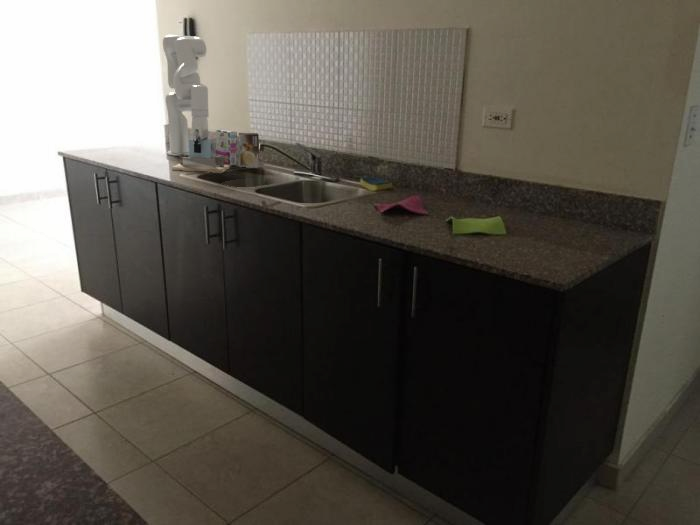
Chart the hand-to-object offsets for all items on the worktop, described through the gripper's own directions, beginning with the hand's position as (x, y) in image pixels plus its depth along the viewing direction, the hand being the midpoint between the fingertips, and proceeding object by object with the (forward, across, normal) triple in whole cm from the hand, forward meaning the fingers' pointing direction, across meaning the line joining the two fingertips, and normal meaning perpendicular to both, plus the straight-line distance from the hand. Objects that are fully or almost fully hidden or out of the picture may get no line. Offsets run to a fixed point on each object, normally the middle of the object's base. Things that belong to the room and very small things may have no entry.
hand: (201, 151), depth 273 cm
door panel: (+7, 0, 0) cm, 7 cm away
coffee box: (+8, -13, +19) cm, 25 cm away
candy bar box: (+8, -16, +7) cm, 19 cm away
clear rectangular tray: (+8, 0, 0) cm, 8 cm away
